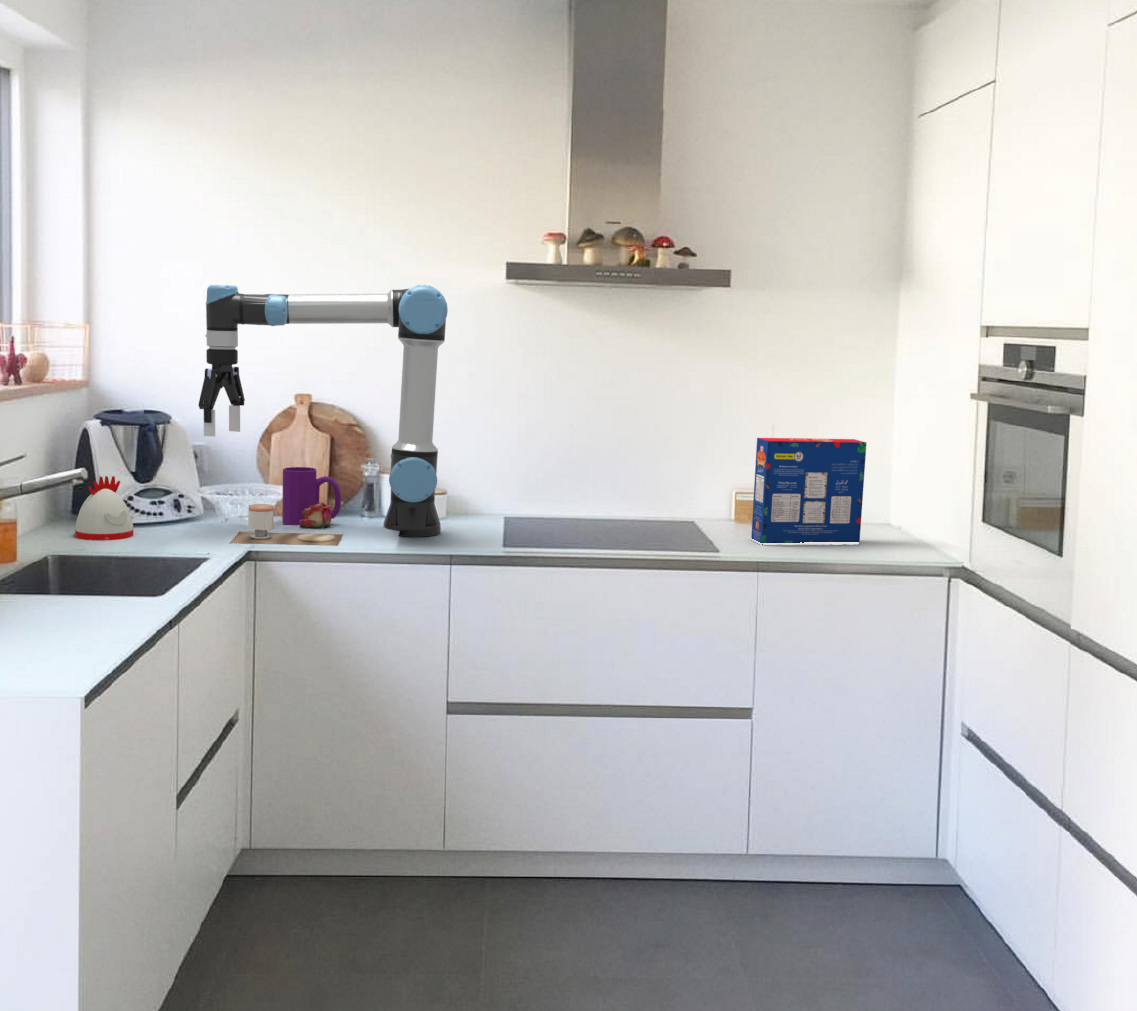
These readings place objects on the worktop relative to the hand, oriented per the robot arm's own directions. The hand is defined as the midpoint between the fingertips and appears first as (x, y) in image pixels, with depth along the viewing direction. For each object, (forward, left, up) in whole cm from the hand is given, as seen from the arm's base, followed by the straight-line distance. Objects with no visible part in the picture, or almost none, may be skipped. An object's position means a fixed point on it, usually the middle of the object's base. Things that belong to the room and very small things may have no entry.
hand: (222, 433), depth 349 cm
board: (-17, +7, -26) cm, 32 cm away
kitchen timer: (+29, 0, -27) cm, 39 cm away
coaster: (-24, +7, -25) cm, 35 cm away
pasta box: (-153, -13, -26) cm, 156 cm away
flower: (-22, -12, -26) cm, 36 cm away
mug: (-20, -24, -26) cm, 41 cm away
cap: (-11, +7, -22) cm, 26 cm away
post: (-11, +7, -25) cm, 28 cm away
